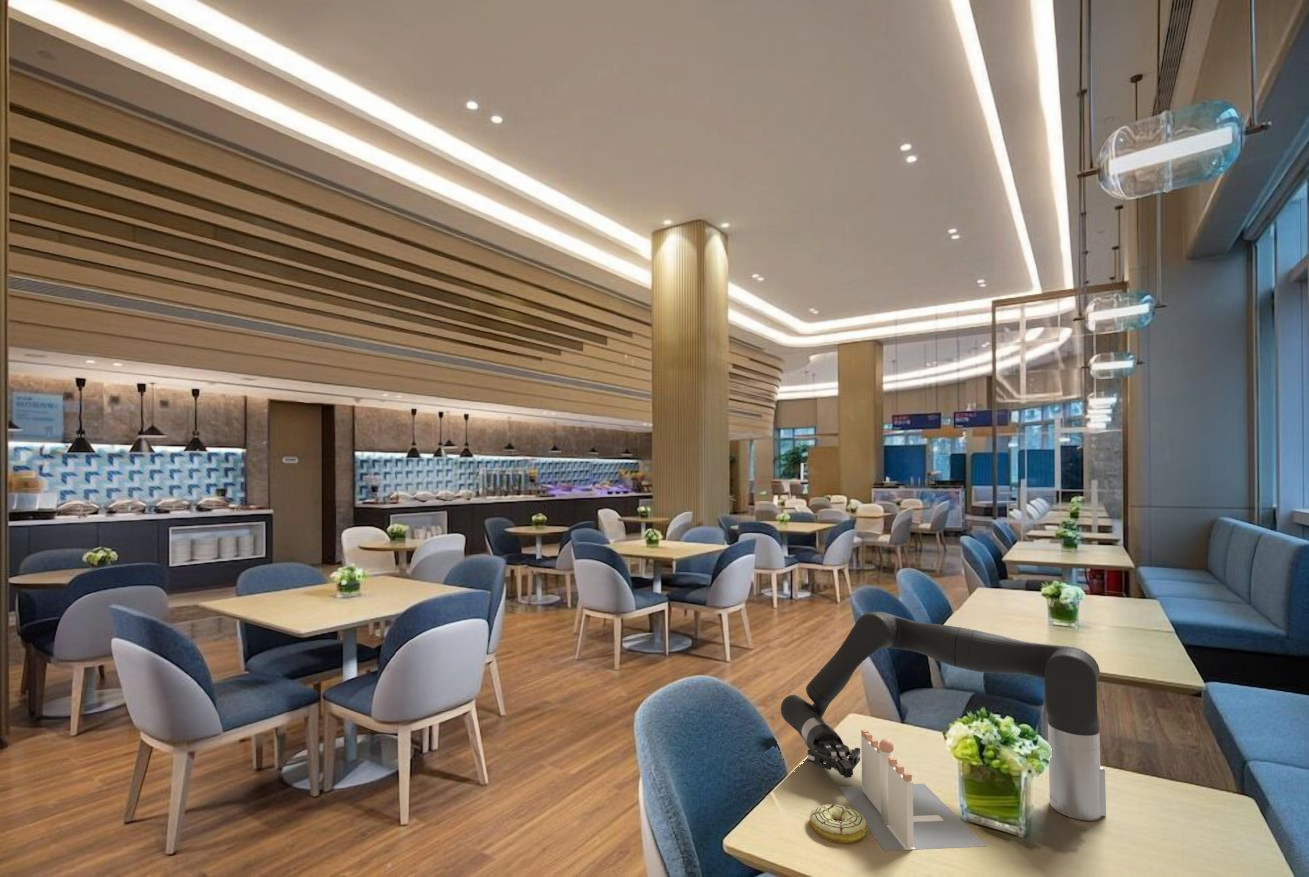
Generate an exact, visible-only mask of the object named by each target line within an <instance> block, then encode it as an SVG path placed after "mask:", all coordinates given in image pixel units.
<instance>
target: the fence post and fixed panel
mask: <svg viewBox="0 0 1309 877" xmlns="http://www.w3.org/2000/svg"><path fill="white" fill-rule="evenodd" d="M878 745H879V748H880V774H881V821H882V822H885V823H887V824H889V825H890V826H891V827H892V829H893V830H894V831H895V833H896V834H897V835H898V836H899V838H900V839H901V840H902V841H903V843H904V844H905V845H906V846H907V848H911V847H914V833H913V784H914V782H913V775H912V773H910V772H909V771H905V766H904V765H903V764H901V763H900V764H898V760H897V758H895V757H894V748H895V747H894V743H893V742H892V741H891V740H890V739H888V738H883V739H881V740H880V742H878Z"/></svg>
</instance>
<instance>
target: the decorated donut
mask: <svg viewBox="0 0 1309 877" xmlns="http://www.w3.org/2000/svg"><path fill="white" fill-rule="evenodd" d="M809 821H810V825H811V827H812V828H813V830H814V831H815V832H816V834H817V835H819V836H820V837H821V838H823V839H825V840H827V841H829V842H830V841H831V842H834V843H838V844H839V843H840V844H853V843H856V842H858V841H860V840H862V839H863V838H864V837H865V835H866V833H867V828H868V827H867V826H866V820H865V818H864V817H863V816H862V814H861V813H860V812H858V811H856V810H854V808H853V807H849V806H847V805H843V804H835V803H831V804H823V805H819V806H816V807H814V808H813V809H811V812H810V814H809Z"/></svg>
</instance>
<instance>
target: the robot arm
mask: <svg viewBox="0 0 1309 877" xmlns="http://www.w3.org/2000/svg"><path fill="white" fill-rule="evenodd" d="M884 649H895V650H896V649H897V650H904V651H910V652H915V653H919V654H922V655H925V656H926V657H929V658H931V659H933V660H936V661H938V662H940V663H943V664H945V665H948V666H951V667H956V668H960V669H962V670H967V671H972V672H976V673H977V672H978V673H986V674H1020V675H1021V674H1023V675H1028V676H1032V677H1036V678H1037V677H1038V678H1040V679H1044V693H1045V694H1044V696H1045V697H1044V698H1045V710H1046V713H1047V733H1048V734H1047V736H1048V737H1047V738H1048V744H1049V745H1050V746H1051V748H1052V757H1051V758H1050V761H1049V760H1048V782H1049V783H1048V784H1049V785H1048V787H1049V788H1048V791H1049V794H1048V795H1049V805H1050V807H1051V808H1052V809H1053V810H1054V811H1056V812H1057V813H1060V814H1062V815H1064V816H1065V817H1068V818H1072V819H1076V820H1080V821H1081V820H1082V821H1089V822H1090V821H1097V820H1099V819H1101V818H1102V817H1106V816H1107V797H1106V796H1107V795H1106V770H1105V768H1104V767H1102V766H1101V747H1100V746H1101V745H1100V743H1101V742H1100V738H1101V737H1100V719H1099V712H1098V682H1099V678H1100V675H1101V674H1100V673H1101V672H1100V671H1101V670H1100V666H1099V664H1098V662H1097V661H1096V659H1095V658H1094V657H1093V656H1092V655H1091V654H1089V653H1088V652H1087V651H1085V650H1083V649H1081V648H1078V647H1076V646H1068V645H1067V646H1066V645H1059V644H1058V645H1055V644H1046V643H1036V642H1029V641H1024V640H1019V639H1015V638H1012V637H1008V636H1003V635H999V634H994V633H988V632H985V631H981V630H976V629H971V628H966V627H961V626H954V625H947V624H945V625H944V624H937V623H927V622H926V623H925V622H919V621H915V620H911V619H907V618H903V617H901V616H897V615H894V614H891V613H888V612H885V611H878V610H877V611H870V612H865V613H864V614H862V615H861V616H859V617H858V619H857V620H856V622H855V624H854V625H853V627H852V628H851V630H850V631H849V634H847V637H846V638H845V640H844V641H843V643H842V644H841V645H840V647H839V648H838V650H837V651H836V652H835V653H834V655H832V657H831V658H830V659H829V660H828V661H827V662H826V664H824V666H823V667H822V668H821V669H820V670H819V671H818V673H816V675H815V676H814V677H813V678H812V679H811V680H810V681H809V682H808V684H807V685H806V686H805V688H806V689H805V693H806V695H807V696H808V697H809V699H810V700H811V701H812V702H813V704H812V703H810V702H808V701H806V700H805V699H804V698H802V697H801V696H799V695H798V694H797V695H796V694H790V695H787V696H786V697H785V698H784V699H783V700H782V701H781V705H780V714H781V716H782V718H783V719H784V721H785V722H786V723H787V724H788V725H790V727H792V728H793V729H794V730H795V731H796V732H797V733H798V734H799V735H800V737H801V738H802V739H803V742H804V744H805V745H806V747H807V748H808V749H807V762H808V763H810V764H813V765H816V766H818V767H820V768H822V769H825V770H829V771H830V770H832V769H833V770H835V772H836V771H837V772H838V773H839V775H841V776H843V778H845V779H846V778H847V779H848V778H852V777H853V776H854V769H855V768H856V766H857V765H858V764H859V763H860V761H861V747H860V748H859V747H854V749H853V748H852V749H850V748H849V746H848V745H846V744H844V743H843V742H844V741H843V740H842V738H841V736H840V735H839V734H838V733H837V732H836V730H834V729H833V727H832V726H831V725H830V724H829V723H828V722H827V721H825V720H824V718H823V716H824V715H825V713H826V711H827V709H828V707H829V705H830V704H831V703H832V702H833V701H834V700H835V698H836V697H837V696H838V695H839V694H840V693H841V692H842V691H843V690H844V688H845V687H846V685H848V683H849V681H850V679H851V677H852V676H853V674H854V673H855V671H856V670H857V669H858V667H860V665H861V664H862V663H863V662H864V661H865V660H866V659H868V658H869V657H870V656H872V655H873V654H874V653H876V652H877V651H880V650H881V651H882V650H884ZM1049 745H1048V746H1049Z"/></svg>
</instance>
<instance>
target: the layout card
mask: <svg viewBox="0 0 1309 877" xmlns="http://www.w3.org/2000/svg"><path fill="white" fill-rule="evenodd" d="M838 789H839V790H840V792H841V793H842V795H843V796H844V797H845V798H846V800H847V801H848V803H849V804H850V805H851V808H852V809H854V810H856V811H858V812H860V813H861V814H862V816H863V817H864V818H865V820H866V826H867V827H866V828H867V829H868V830H869V831H870V832H871V834H872V835H873V837H874V839H876V840H875V841H877V843H879V845H880V846H881V848H882V849H883V851H884V852H894V851H898V852H900V851H915V850H916V851H917V850H936V849H939V850H941V849H955V848H977V847H980V848H981V847H987V844H986V843H985V842H983V841H982V840H981V838H979V837H978V835H977V834H976V833H974V831H973V830H971V829H970V828H969V826H968V825H966V824H965V822H963V821H962V819H960V818H959V817H958V816H957V815H956V814H955V813H954V812H953V810H951V808H949V807H948V806H947V805H946V804H945V803H944V801H942V800H941V799H940V798H939V796H937V795H936V794H935V793H934V792H933V791H932V789H930V788H929V787H928V785H926V784H925V783H913V833H914V847H911V848H907V846H906V845H905V844H904V843H903V841H902V840H901V839H900V838H899V836H898V835H897V834H896V833H895V831H894V830H893V829H892V827H891V826H890V825H889V824H887V823H885V822H882V821H881V814H880V812H879V811H878V810H877V809H876V807H875V806H874V805H873V804H872V802H871V801H870V800H869V799H868V797H867V796H866V795H865V794H864V792H863V791H862V785H860V786H859V785H858V786H855V785H854V786H838Z"/></svg>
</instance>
